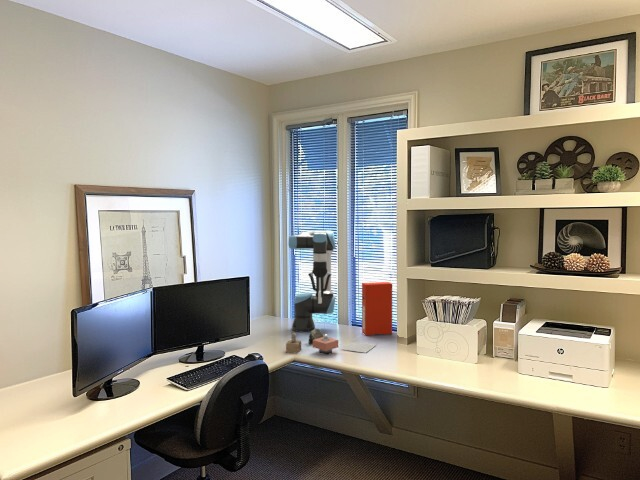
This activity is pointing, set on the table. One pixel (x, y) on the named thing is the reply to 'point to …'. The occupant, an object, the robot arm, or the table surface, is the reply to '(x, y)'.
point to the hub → (325, 341)
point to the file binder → (377, 308)
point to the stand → (293, 345)
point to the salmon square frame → (325, 344)
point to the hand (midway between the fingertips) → (320, 303)
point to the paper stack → (359, 347)
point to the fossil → (315, 335)
